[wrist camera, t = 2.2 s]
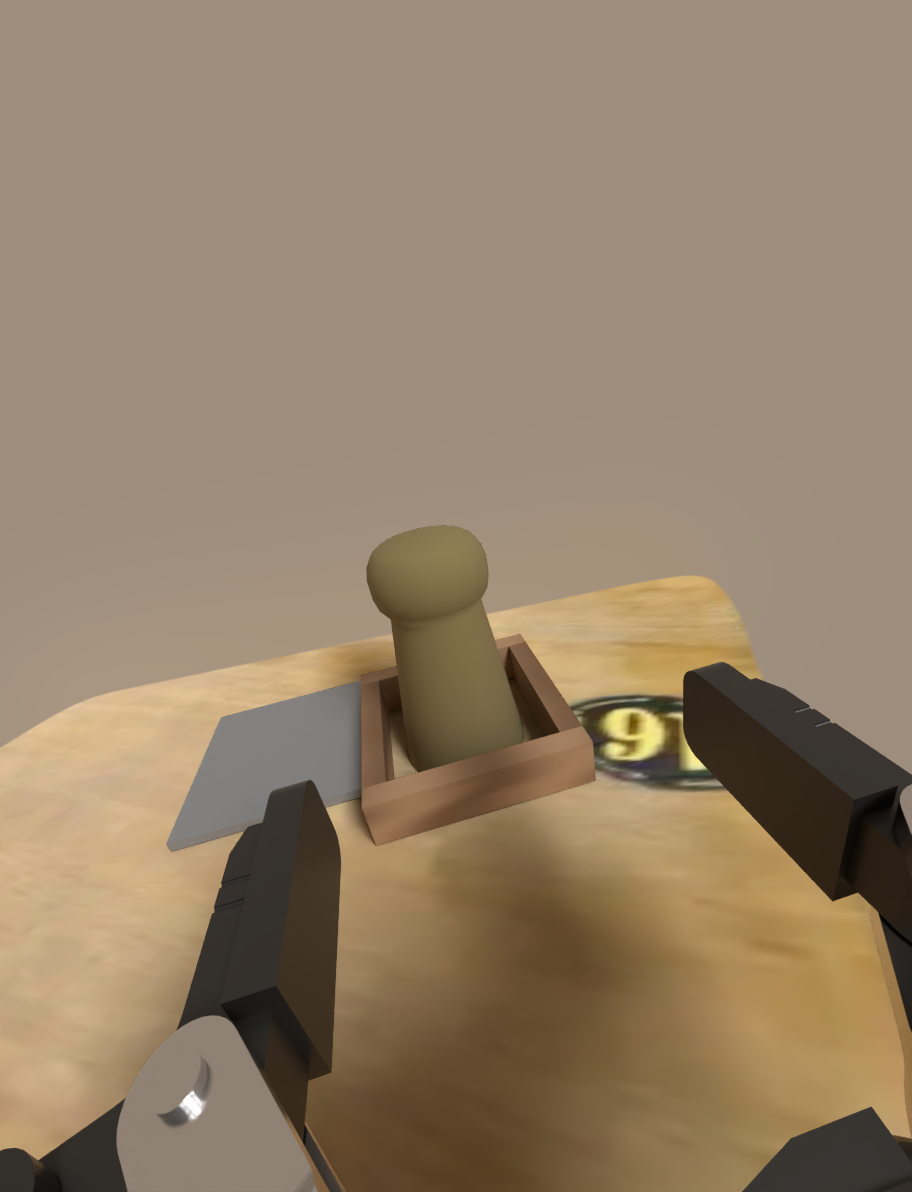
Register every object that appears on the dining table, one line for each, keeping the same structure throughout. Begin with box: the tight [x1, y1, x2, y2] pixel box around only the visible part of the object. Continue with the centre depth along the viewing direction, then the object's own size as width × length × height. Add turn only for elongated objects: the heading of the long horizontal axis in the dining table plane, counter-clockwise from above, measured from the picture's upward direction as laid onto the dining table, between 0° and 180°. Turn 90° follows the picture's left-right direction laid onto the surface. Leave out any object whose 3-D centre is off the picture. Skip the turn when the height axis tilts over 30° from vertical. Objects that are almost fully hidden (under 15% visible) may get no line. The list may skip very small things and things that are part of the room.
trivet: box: [167, 681, 362, 851], centre depth 25 cm, size 9×9×1 cm
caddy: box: [361, 634, 596, 846], centre depth 23 cm, size 10×10×2 cm
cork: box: [367, 525, 524, 772], centre depth 22 cm, size 6×6×11 cm
